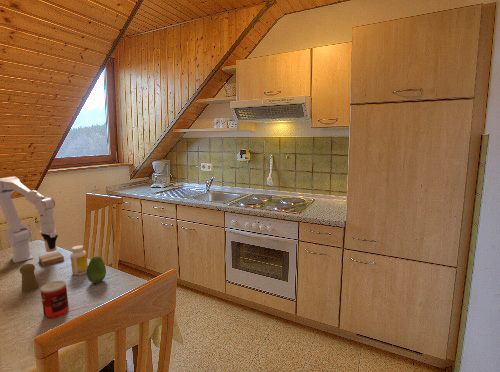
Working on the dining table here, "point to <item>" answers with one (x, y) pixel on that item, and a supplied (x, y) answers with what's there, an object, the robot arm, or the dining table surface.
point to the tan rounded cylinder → (48, 247)
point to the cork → (28, 278)
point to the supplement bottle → (78, 260)
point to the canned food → (54, 299)
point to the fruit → (96, 270)
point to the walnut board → (51, 258)
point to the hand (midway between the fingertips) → (50, 247)
